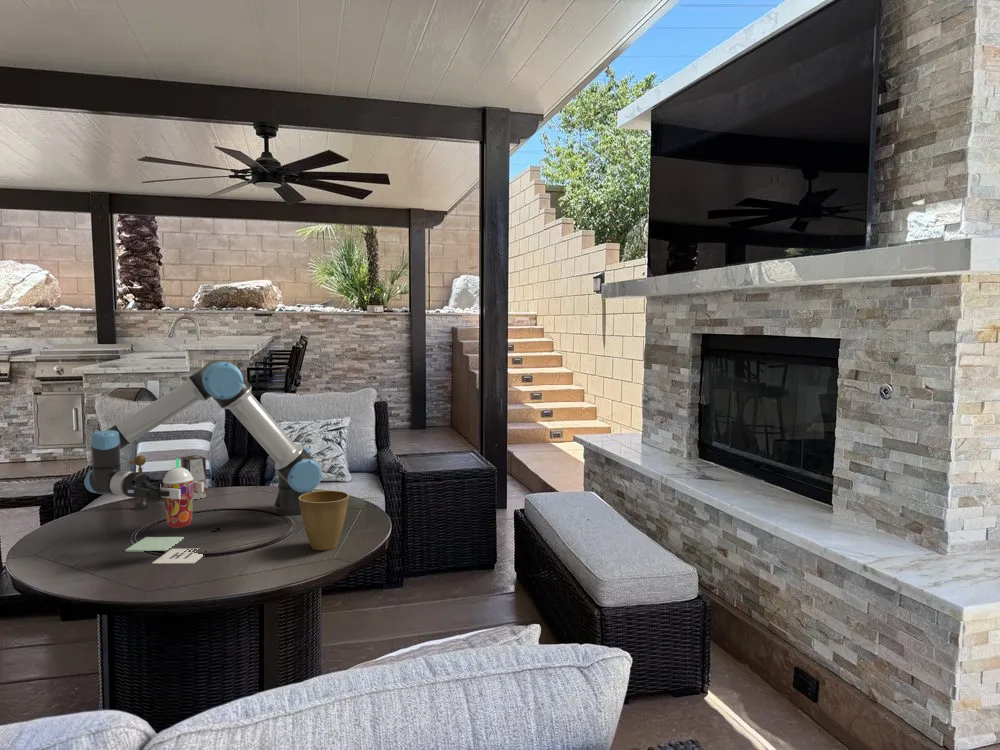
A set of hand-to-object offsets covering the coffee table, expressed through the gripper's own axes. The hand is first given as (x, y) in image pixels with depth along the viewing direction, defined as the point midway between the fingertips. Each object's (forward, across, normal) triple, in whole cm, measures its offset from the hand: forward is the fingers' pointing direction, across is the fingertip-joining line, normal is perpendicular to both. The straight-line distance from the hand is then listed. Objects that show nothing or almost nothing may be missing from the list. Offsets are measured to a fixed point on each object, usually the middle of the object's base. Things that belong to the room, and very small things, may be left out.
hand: (191, 490), depth 192 cm
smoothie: (-5, 0, -11) cm, 12 cm away
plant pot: (+31, -21, -20) cm, 43 cm away
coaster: (-19, -5, -20) cm, 28 cm away
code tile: (-4, 0, -20) cm, 20 cm away
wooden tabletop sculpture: (-58, -35, -20) cm, 70 cm away
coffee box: (-51, -54, -20) cm, 77 cm away
